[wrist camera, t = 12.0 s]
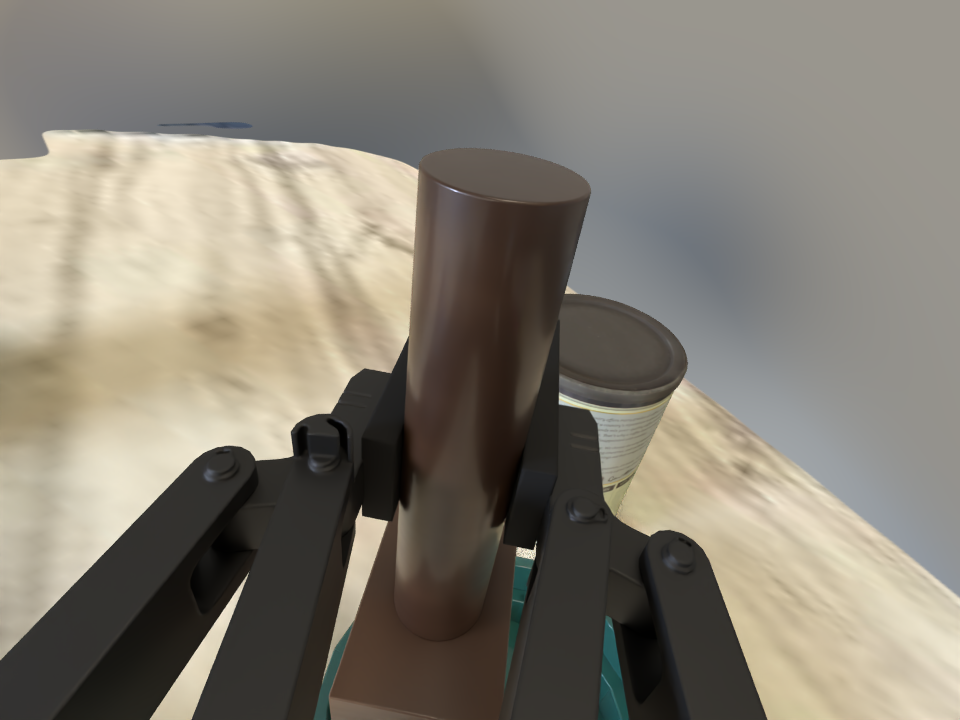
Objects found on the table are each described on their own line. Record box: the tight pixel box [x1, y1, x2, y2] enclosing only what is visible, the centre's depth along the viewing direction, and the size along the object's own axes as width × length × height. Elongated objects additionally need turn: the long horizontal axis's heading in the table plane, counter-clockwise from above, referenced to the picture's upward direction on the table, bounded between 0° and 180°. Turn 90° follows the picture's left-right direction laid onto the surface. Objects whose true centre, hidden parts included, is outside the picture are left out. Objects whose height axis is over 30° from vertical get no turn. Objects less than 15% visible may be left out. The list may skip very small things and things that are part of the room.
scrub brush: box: [329, 148, 591, 720], centre depth 13 cm, size 5×7×17 cm
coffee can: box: [536, 294, 688, 544], centre depth 34 cm, size 10×10×14 cm
